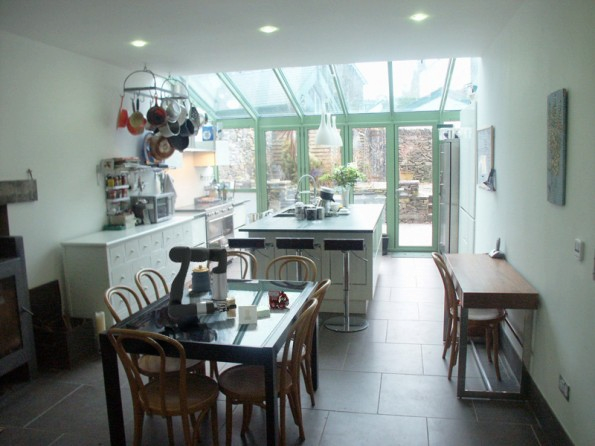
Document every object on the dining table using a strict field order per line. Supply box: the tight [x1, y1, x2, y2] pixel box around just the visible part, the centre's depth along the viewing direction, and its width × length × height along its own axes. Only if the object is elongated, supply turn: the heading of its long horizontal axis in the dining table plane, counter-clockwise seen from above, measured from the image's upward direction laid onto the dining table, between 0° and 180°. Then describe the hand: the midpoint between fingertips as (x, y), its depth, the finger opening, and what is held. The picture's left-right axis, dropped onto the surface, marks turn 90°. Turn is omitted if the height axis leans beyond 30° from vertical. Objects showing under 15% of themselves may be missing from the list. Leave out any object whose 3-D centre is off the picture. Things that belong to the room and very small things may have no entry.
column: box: [225, 296, 237, 318], centre depth 278 cm, size 4×4×10 cm
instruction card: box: [237, 304, 258, 325], centre depth 271 cm, size 10×3×10 cm, turn 96°
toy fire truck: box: [267, 290, 290, 310], centre depth 298 cm, size 7×12×10 cm, turn 81°
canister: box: [190, 264, 212, 293], centre depth 340 cm, size 13×13×18 cm
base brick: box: [257, 305, 271, 319], centre depth 285 cm, size 8×8×4 cm
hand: (235, 305), depth 279 cm, fingers closed on column, 4 cm apart
